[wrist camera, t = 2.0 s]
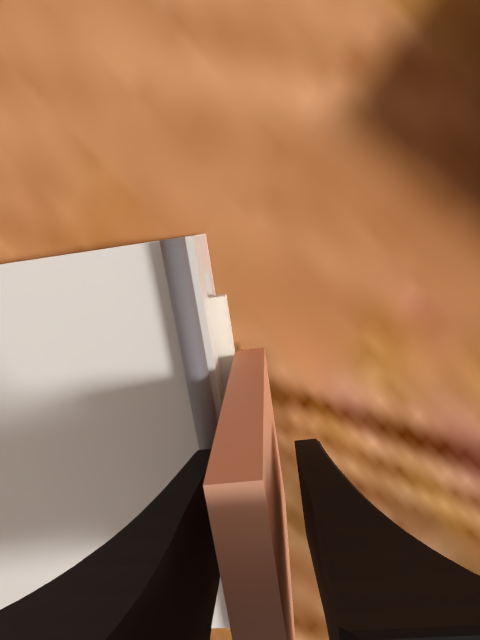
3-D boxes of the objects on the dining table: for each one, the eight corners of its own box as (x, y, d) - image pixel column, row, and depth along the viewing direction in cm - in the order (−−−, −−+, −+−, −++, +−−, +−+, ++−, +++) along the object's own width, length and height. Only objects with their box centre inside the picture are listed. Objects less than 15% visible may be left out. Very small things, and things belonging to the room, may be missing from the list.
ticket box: (205, 233, 13) (187, 236, 10) (259, 567, 17) (258, 646, 13) (-110, 280, 14) (-212, 296, 11) (-2, 583, 18) (-59, 660, 15)
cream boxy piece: (256, 289, 13) (245, 366, 6) (291, 544, 15) (312, 809, 8) (-78, 334, 14) (-409, 441, 7) (1, 564, 16) (-189, 811, 9)
